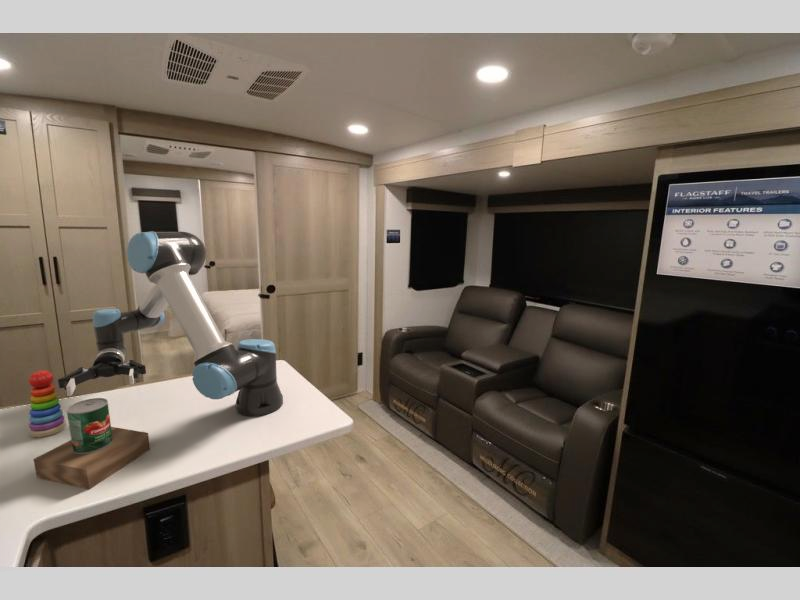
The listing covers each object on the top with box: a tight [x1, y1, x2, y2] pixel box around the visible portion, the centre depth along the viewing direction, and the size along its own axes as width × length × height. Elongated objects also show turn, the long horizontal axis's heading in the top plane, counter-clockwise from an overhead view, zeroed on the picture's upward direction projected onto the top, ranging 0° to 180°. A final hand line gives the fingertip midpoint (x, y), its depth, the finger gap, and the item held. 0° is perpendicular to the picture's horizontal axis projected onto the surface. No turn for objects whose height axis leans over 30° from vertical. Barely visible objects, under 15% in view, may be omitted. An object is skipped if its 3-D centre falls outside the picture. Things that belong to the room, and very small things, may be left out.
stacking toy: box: [28, 369, 67, 438], centre depth 106 cm, size 8×8×19 cm
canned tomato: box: [66, 397, 113, 454], centre depth 92 cm, size 8×8×11 cm
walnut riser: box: [33, 426, 151, 490], centre depth 94 cm, size 16×16×5 cm
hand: (101, 385), depth 102 cm, fingers open, 13 cm apart
